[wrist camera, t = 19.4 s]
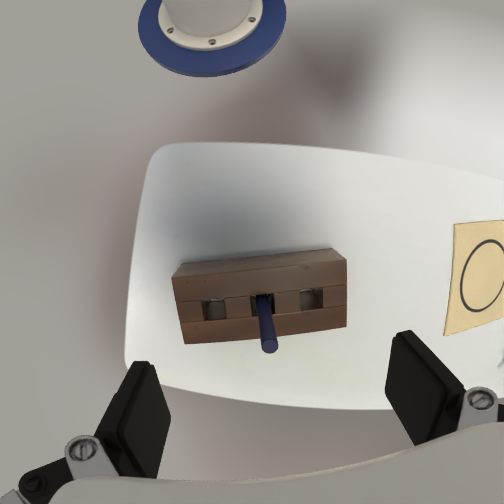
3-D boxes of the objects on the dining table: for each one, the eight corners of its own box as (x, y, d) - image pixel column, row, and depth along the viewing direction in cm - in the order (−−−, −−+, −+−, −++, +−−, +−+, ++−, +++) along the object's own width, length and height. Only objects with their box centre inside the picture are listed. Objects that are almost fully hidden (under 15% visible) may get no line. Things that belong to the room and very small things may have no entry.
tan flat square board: (453, 224, 33) (455, 224, 32) (514, 218, 33) (516, 219, 32) (443, 335, 36) (445, 336, 36) (503, 315, 36) (504, 316, 36)
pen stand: (181, 264, 33) (170, 277, 28) (332, 248, 33) (346, 259, 28) (191, 323, 34) (184, 344, 30) (333, 308, 34) (346, 327, 30)
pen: (254, 284, 34) (260, 340, 21) (265, 283, 34) (278, 338, 21) (255, 294, 34) (262, 354, 21) (266, 293, 34) (278, 352, 21)
